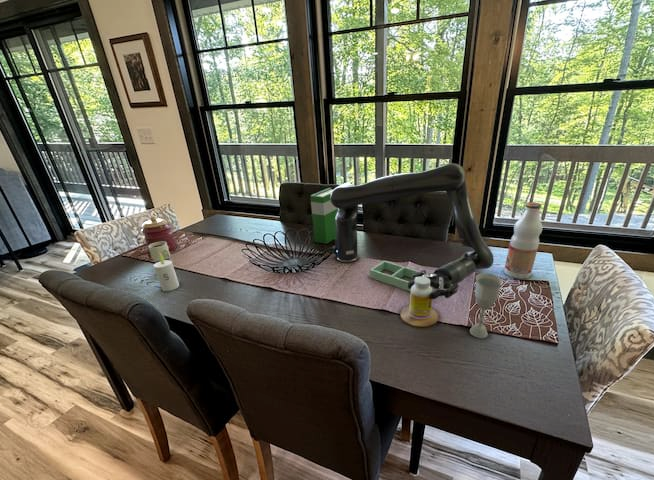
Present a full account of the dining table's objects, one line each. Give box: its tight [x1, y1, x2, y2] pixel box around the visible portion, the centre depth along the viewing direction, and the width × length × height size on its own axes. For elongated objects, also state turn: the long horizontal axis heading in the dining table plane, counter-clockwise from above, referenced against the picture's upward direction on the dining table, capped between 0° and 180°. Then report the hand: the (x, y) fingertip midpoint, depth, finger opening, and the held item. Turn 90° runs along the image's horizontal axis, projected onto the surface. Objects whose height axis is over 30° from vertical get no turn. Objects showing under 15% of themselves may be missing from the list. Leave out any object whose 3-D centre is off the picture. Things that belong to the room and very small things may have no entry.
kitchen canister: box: [140, 216, 177, 253], centre depth 157 cm, size 13×13×18 cm
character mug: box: [147, 242, 171, 263], centre depth 135 cm, size 11×7×13 cm, turn 67°
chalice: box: [469, 273, 504, 339], centre depth 88 cm, size 7×7×18 cm
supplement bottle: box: [409, 277, 434, 320], centre depth 98 cm, size 7×7×13 cm
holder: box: [369, 260, 421, 293], centre depth 122 cm, size 20×10×4 cm, turn 50°
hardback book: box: [309, 187, 338, 245], centre depth 161 cm, size 18×7×24 cm, turn 150°
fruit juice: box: [503, 201, 544, 280], centre depth 117 cm, size 9×9×28 cm
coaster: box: [399, 304, 439, 328], centre depth 101 cm, size 12×12×1 cm
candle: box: [153, 252, 180, 292], centre depth 122 cm, size 6×6×15 cm
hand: (419, 291), depth 96 cm, fingers open, 8 cm apart
